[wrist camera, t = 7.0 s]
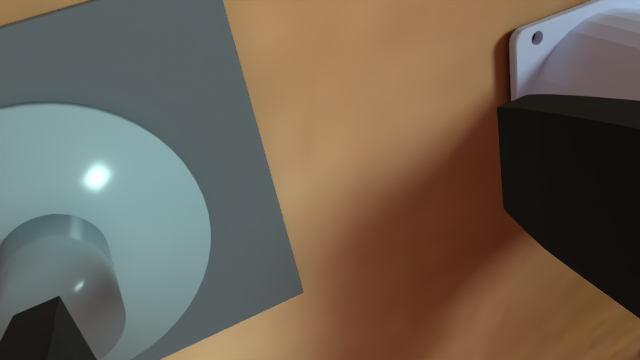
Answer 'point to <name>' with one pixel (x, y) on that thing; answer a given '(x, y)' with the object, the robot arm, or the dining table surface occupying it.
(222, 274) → the mat
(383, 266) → the dining table surface
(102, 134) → the lid
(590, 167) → the robot arm
